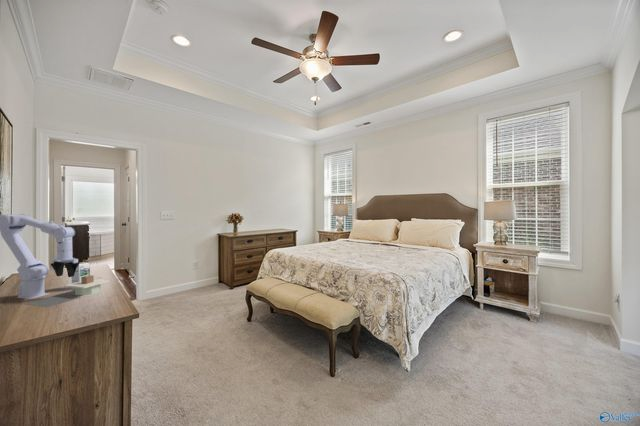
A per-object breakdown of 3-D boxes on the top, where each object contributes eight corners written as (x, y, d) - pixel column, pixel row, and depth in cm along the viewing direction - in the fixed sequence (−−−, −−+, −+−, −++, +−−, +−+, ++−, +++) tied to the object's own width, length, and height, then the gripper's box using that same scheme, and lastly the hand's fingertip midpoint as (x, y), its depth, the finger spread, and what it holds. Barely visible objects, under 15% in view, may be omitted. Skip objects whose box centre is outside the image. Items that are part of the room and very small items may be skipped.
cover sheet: (64, 286, 136) (64, 278, 136) (90, 279, 148) (90, 272, 148) (84, 288, 133) (84, 280, 133) (109, 281, 146) (109, 274, 146)
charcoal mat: (21, 304, 123) (21, 304, 123) (57, 295, 137) (57, 294, 137) (48, 308, 120) (48, 307, 120) (81, 297, 133) (81, 297, 133)
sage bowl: (70, 294, 137) (70, 285, 137) (90, 289, 147) (90, 280, 147) (85, 296, 135) (85, 286, 135) (104, 290, 145) (104, 281, 145)
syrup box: (79, 290, 145) (79, 264, 145) (71, 289, 146) (71, 263, 146) (90, 287, 151) (90, 262, 150) (82, 286, 152) (82, 261, 152)
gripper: (44, 251, 133) (45, 277, 133) (66, 252, 130) (67, 279, 130) (60, 249, 140) (61, 274, 140) (82, 249, 137) (82, 275, 137)
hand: (65, 276), depth 135 cm, fingers open, 7 cm apart
